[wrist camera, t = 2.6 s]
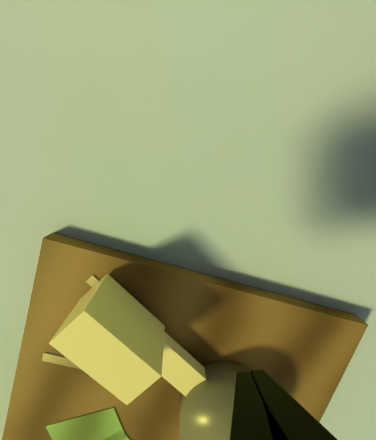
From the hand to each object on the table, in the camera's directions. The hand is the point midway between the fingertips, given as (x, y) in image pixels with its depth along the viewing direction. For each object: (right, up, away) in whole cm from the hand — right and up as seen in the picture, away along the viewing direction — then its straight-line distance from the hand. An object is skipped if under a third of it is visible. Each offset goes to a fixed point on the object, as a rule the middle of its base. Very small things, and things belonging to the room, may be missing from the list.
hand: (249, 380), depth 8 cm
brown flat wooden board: (-3, -8, +11) cm, 14 cm away
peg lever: (-3, -4, +9) cm, 10 cm away
